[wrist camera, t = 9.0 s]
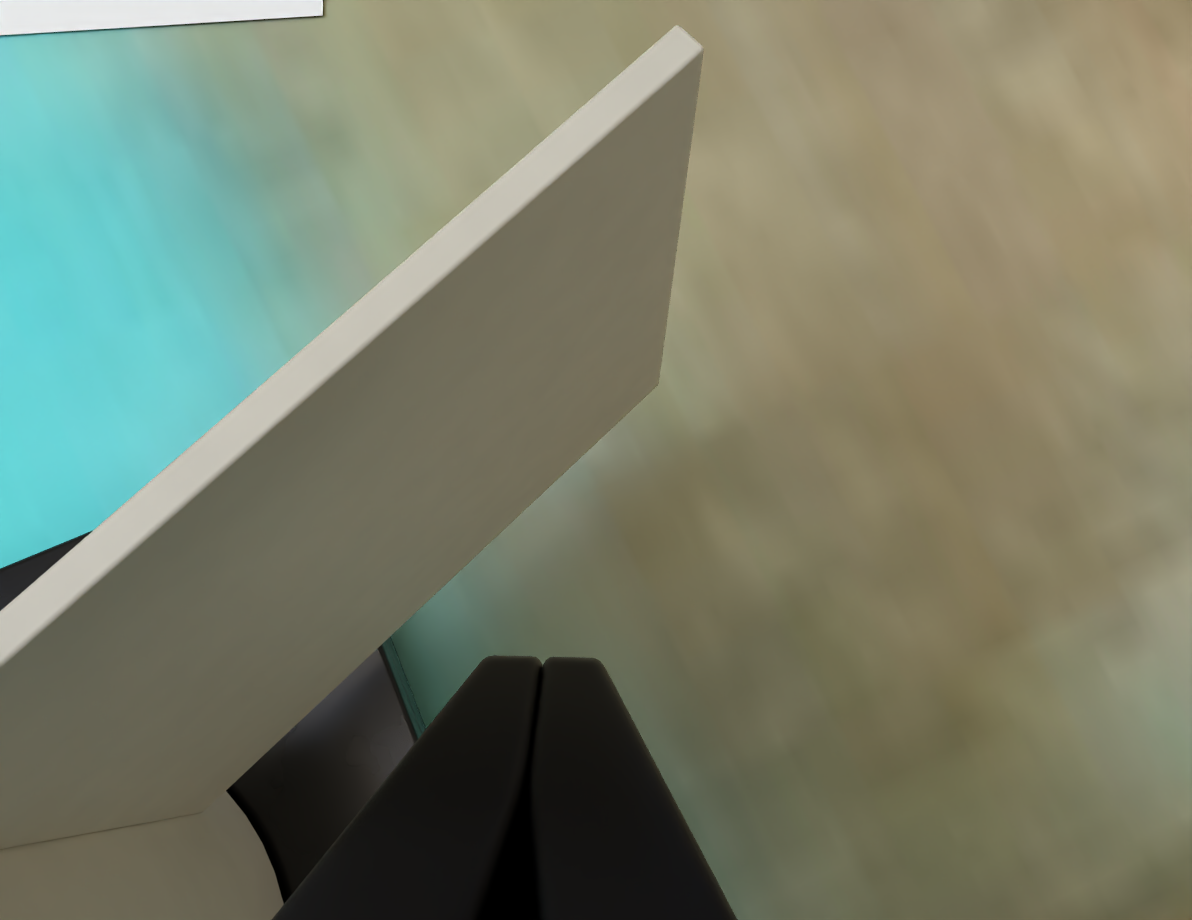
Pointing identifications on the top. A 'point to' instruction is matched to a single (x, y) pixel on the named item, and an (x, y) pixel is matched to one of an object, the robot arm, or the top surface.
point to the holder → (305, 750)
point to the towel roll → (331, 517)
